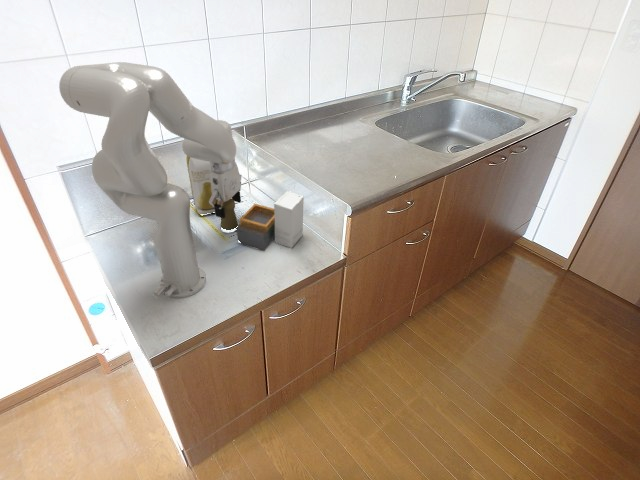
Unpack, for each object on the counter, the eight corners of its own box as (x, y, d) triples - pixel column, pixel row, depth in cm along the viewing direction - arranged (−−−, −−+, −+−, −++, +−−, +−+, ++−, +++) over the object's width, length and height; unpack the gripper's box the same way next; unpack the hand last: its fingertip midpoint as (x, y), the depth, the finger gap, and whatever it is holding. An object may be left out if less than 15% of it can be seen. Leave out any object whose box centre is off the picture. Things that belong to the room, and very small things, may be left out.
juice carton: (198, 218, 142) (187, 155, 127) (193, 207, 147) (182, 144, 132) (225, 213, 145) (217, 150, 130) (219, 201, 151) (211, 140, 136)
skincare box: (287, 229, 139) (286, 189, 129) (304, 235, 137) (305, 195, 127) (274, 243, 133) (272, 202, 123) (292, 249, 131) (292, 208, 121)
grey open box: (264, 250, 130) (263, 230, 125) (238, 242, 132) (235, 222, 127) (283, 226, 140) (283, 207, 135) (258, 220, 143) (257, 200, 138)
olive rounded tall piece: (221, 234, 135) (217, 206, 129) (219, 223, 140) (216, 196, 133) (239, 231, 137) (237, 204, 130) (237, 221, 141) (234, 194, 135)
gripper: (217, 179, 116) (224, 226, 127) (247, 152, 129) (251, 198, 140) (194, 173, 118) (203, 220, 129) (227, 147, 131) (232, 193, 142)
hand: (228, 208), depth 135 cm, fingers open, 9 cm apart
